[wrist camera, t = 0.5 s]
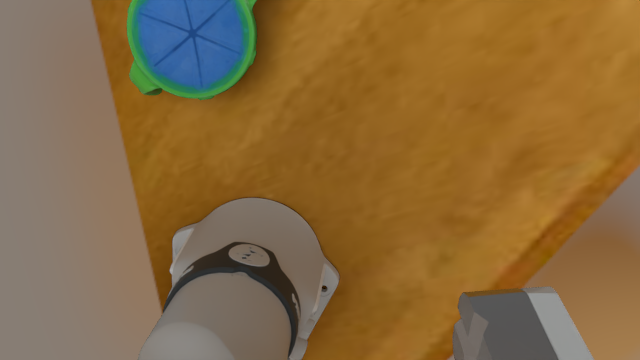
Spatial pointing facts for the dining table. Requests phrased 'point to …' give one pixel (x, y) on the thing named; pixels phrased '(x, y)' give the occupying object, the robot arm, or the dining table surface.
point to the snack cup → (190, 45)
